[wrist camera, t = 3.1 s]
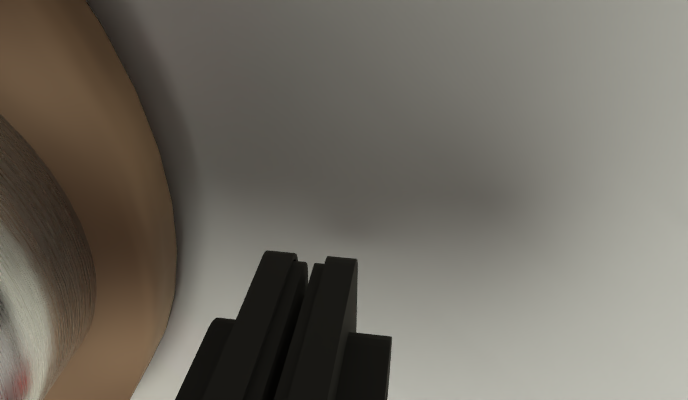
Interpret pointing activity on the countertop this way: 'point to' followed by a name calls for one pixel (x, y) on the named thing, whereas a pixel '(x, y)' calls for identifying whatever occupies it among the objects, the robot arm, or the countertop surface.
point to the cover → (39, 273)
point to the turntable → (95, 182)
